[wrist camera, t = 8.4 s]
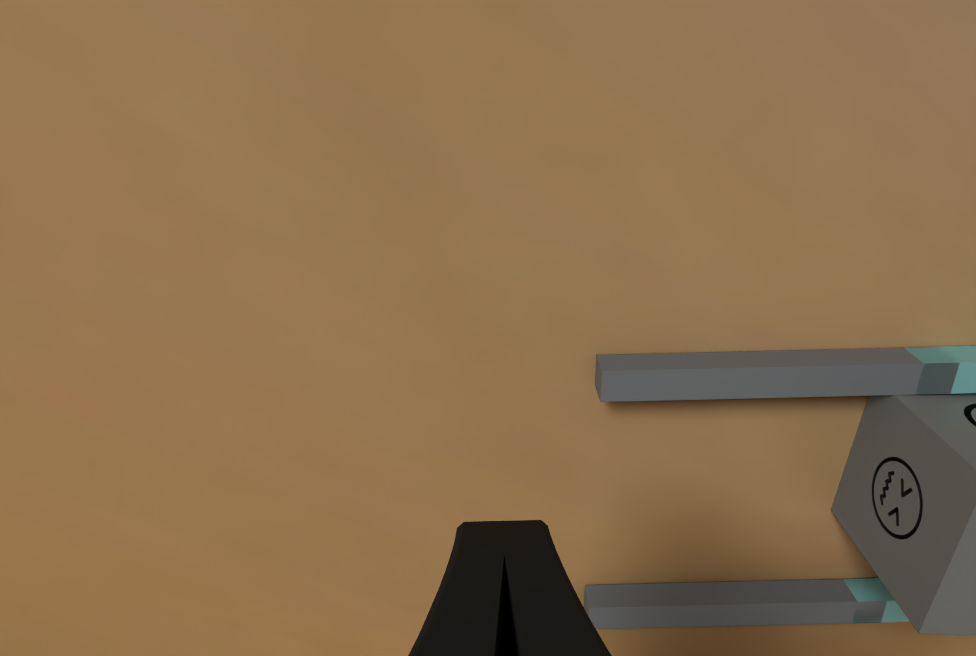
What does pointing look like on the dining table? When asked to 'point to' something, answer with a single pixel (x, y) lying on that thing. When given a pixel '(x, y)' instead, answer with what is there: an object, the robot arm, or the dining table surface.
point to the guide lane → (766, 380)
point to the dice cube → (917, 505)
